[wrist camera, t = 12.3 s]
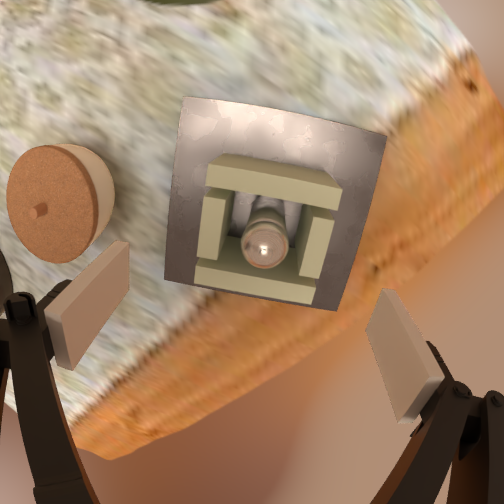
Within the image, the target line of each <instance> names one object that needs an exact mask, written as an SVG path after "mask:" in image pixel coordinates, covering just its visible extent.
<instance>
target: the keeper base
mask: <svg viewBox="0 0 504 504" xmlns="http://www.w3.org/2000/svg"><path fill="white" fill-rule="evenodd" d="M386 140H387V136H384V135H381V134H378V133H374V132H371V131H367V130H364V129H360V128H356V127H353V126H349V125H345V124H341V123H337V122H333V121H329V120H325V119H321V118H316V117H312V116H307V115H303V114H298V113H293V112H288V111H283V110H278V109H272V108H267V107H261V106H255V105H249V104H242V103H236V102H229V101H221V100H213V99H205V98H196V97H186V96H183V102H182V108H181V115H180V122H179V129H178V136H177V143H176V151H175V159H174V167H173V176H172V185H171V195H170V205H169V216H168V228H167V241H166V256H165V273H164V280H168V281H173V282H178V283H183V284H188V285H192V286H197V287H202V288H207V289H212V290H218V291H223V292H228V293H233V294H238V295H244V296H249V297H254V298H260V299H265V300H271V301H277V302H282V303H288V304H294V305H300V306H306V307H312V308H318V309H324V310H330V311H337V309H338V306H339V304H340V301H341V298H342V295H343V292H344V289H345V286H346V283H347V280H348V277H349V274H350V271H351V268H352V265H353V262H354V259H355V255H356V252H357V249H358V246H359V242H360V239H361V236H362V232H363V229H364V226H365V222H366V219H367V215H368V212H369V208H370V204H371V201H372V197H373V193H374V189H375V185H376V182H377V178H378V174H379V170H380V165H381V161H382V157H383V153H384V148H385V144H386ZM224 153H229V154H235V155H241V156H247V157H253V158H258V159H264V160H269V161H274V162H280V163H285V164H290V165H295V166H300V167H305V168H309V169H314V170H318V171H323V172H327V173H328V174H329V175H330V176H331V177H332V178H333V179H334V180H335V182H336V183H337V184H338V185H339V186H340V187H341V188H342V189H343V190H342V194H341V198H340V202H339V206H338V210H337V211H336V210H332V209H328V210H329V211H330V213H331V215H332V217H333V219H334V221H335V222H334V226H333V230H332V233H331V237H330V241H329V244H328V248H327V252H326V255H325V259H324V262H323V266H322V269H321V273H320V276H319V279H316V278H314V280H315V285H316V290H315V293H314V297H313V300H312V303H311V305H310V304H304V303H298V302H293V301H287V300H281V299H275V298H270V297H264V296H258V295H253V294H248V293H242V292H237V291H231V290H226V289H221V288H216V287H211V286H206V285H200V284H195V283H194V277H195V267H196V264H197V262H198V260H199V258H200V257H197V249H198V240H199V231H200V223H201V214H202V206H203V199H204V196H205V194H206V193H207V192H208V191H209V190H210V189H211V188H212V187H210V186H205V184H206V176H207V169H208V164H209V163H210V162H212V161H213V160H215V159H216V158H218V157H219V156H221V155H222V154H224ZM302 205H303V203H298V202H293V201H288V200H283V199H278V198H272V197H267V196H262V195H256V194H251V193H245V192H240V191H236V193H235V199H234V205H233V211H232V218H231V224H230V229H229V232H228V234H227V236H232V237H237V238H241V251H242V254H243V256H244V258H245V259H246V260H247V262H248V263H250V264H251V265H253V266H254V267H257V268H261V269H269V268H273V267H275V266H277V265H279V264H280V263H281V262H282V261H283V260H284V259H285V257H286V255H287V253H288V250H289V247H291V248H295V241H294V240H295V235H296V231H297V227H298V222H299V218H300V214H301V209H302Z"/></svg>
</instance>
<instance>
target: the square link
mask: <svg viewBox="0 0 504 504" xmlns="http://www.w3.org/2000/svg"><path fill="white" fill-rule="evenodd" d="M205 186H210V187H212V188H211V189H210V190H209V191H208V192H207V193H206V194H205V196H204V199H203V206H202V214H201V223H200V231H199V240H198V249H197V257H200V258H199V260H198V262H197V264H196V267H195V277H194V283H195V284H200V285H206V286H211V287H216V288H221V289H226V290H231V291H237V292H242V293H248V294H253V295H258V296H264V297H270V298H275V299H281V300H287V301H293V302H298V303H304V304H310V305H311V303H312V300H313V297H314V293H315V290H316V285H315V280H314V278H316V279H319V276H320V273H321V269H322V266H323V262H324V259H325V255H326V252H327V248H328V244H329V241H330V237H331V233H332V230H333V226H334V222H335V221H334V219H333V217H332V215H331V213H330V211H329V210H328V209H332V210H336V211H337V210H338V206H339V202H340V198H341V194H342V190H343V189H342V188H341V187H340V186H339V185H338V184H337V183H336V182H335V180H334V179H333V178H332V177H331V176H330V175H329V174H328V173H327V172H323V171H318V170H314V169H309V168H305V167H300V166H295V165H290V164H285V163H280V162H274V161H269V160H264V159H258V158H253V157H247V156H241V155H235V154H229V153H224V154H222V155H221V156H219V157H218V158H216V159H215V160H213V161H212V162H210V163H209V164H208V169H207V176H206V184H205ZM236 191H240V192H245V193H251V194H256V195H262V196H267V197H272V198H278V199H283V200H288V201H293V202H298V203H303V205H302V209H301V214H300V218H299V222H298V227H297V231H296V235H295V240H294V241H295V248H291V247H289V250H288V253H287V255H286V257H285V259H284V260H283V261H282V262H281V263H280V264H279V265H277V266H275V267H273V268H269V269H261V268H257V267H254V266H253V265H251V264H250V263H248V262H247V260H246V259H245V258H244V256H243V254H242V251H241V238H237V237H232V236H227V234H228V232H229V229H230V224H231V218H232V211H233V205H234V199H235V193H236Z"/></svg>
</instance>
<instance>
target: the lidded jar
mask: <svg viewBox="0 0 504 504" xmlns="http://www.w3.org/2000/svg"><path fill="white" fill-rule="evenodd" d="M6 199H7V209H8V214H9V218H10V221H11V224H12V226H13V228H14V231H15V233H16V234H17V236H18V238H19V239H20V241H21V242H22V243H23V245H24V246H25V247H26V248H27V249H28V250H29V251H30V252H31V253H33V254H34V255H35V256H37V257H38V258H40V259H42V260H45V261H47V262H51V263H66V262H69V261H72V260H74V259H75V258H77V257H78V256H80V255H81V254H82V253H83V252H84V251H85V250H86V249H87V248H88V247H89V246H90V245H91V244H92V243H93V242H94V241H95V240H96V239H97V238H98V237H99V235H100V234H101V233H102V232H103V230H104V229H105V227H106V225H107V224H108V222H109V220H110V218H111V215H112V211H113V208H114V202H115V190H114V183H113V180H112V176H111V174H110V171H109V169H108V168H107V166H106V164H105V163H104V162H103V161H102V159H101V158H100V157H99V156H98V155H96V154H95V153H94V152H92V151H91V150H89V149H87V148H85V147H82V146H78V145H73V144H55V145H44V146H39V147H35V148H32V149H30V150H28V151H27V152H25V153H24V154H23V155H22V156H21V157H20V158H19V159H18V160H17V162H16V163H15V165H14V167H13V169H12V171H11V173H10V176H9V180H8V184H7V198H6Z"/></svg>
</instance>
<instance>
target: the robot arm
mask: <svg viewBox="0 0 504 504" xmlns="http://www.w3.org/2000/svg"><path fill="white" fill-rule="evenodd" d="M128 290H129V243H128V242H123V241H117V240H116V241H115V242H113V243H112V244H111V245H110V246H109V247H108V248H107V249H106V250H105V251H104V252H103V253H101V254H100V255H99V256H98V257H97V258H96V259H95V260H94V261H93V262H92V263H91V264H90V265H89V266H88V267H87V268H85V269H84V270H83V271H82V272H81V273H80V274H79V275H78V276H77V277H76V278H75V279H74V280H73V281H72V280H68V279H67V280H64V281H62V282H60V283H58V284H57V285H56V286H55V287H54V288H53V289H52V290H51V291H50V292H49V293H48V294H47V295H46V296H44V297H43V298H42V299H41V300H40V301H39V302H38V303H37V304H36V303H35V299H34V297H33V295H32V294H30V293H27V292H17V293H13V292H12V282H11V277H10V274H9V270H8V267H7V265H6V262H5V260H4V258H3V255H2V253H1V252H0V315H1V314H2V313H4V312H5V313H6V317H7V319H0V432H1V422H2V413H3V405H4V398H5V391H6V385H7V379H8V373H9V369H11V371H12V380H13V387H14V394H15V401H16V407H17V413H18V418H19V423H20V428H21V433H22V437H23V442H24V446H25V450H26V454H27V458H28V462H29V465H30V469H31V472H32V476H33V479H34V483H35V487H34V488H33V494H34V497H35V501H36V504H100V502H99V500H98V498H97V496H96V494H95V492H94V490H93V487H92V485H91V483H90V481H89V478H88V476H87V474H86V472H85V469H84V467H83V464H82V462H81V459H80V457H79V454H78V452H77V449H76V446H75V444H74V441H73V438H72V435H71V432H70V430H69V427H68V424H67V421H66V418H65V414H64V411H63V408H62V405H61V401H60V398H59V395H58V391H57V387H56V384H55V380H54V376H53V372H52V368H51V364H50V360H51V359H52V358H53V356H55V359H56V363H57V366H60V367H63V368H65V369H68V370H71V371H73V370H74V368H75V367H76V365H77V364H78V362H79V361H80V359H81V358H82V356H83V355H84V353H85V352H86V350H87V349H88V347H89V346H90V344H91V343H92V341H93V340H94V338H95V337H96V336H97V334H98V333H99V331H100V330H101V328H102V327H103V325H104V324H105V323H106V321H107V320H108V318H109V317H110V315H111V314H112V313H113V311H114V310H115V308H116V307H117V306H118V304H119V303H120V301H121V300H122V299H123V297H124V296H125V295H126V293H127V292H128ZM365 331H366V333H367V336H368V339H369V342H370V344H371V347H372V350H373V352H374V355H375V358H376V361H377V363H378V366H379V369H380V372H381V375H382V377H383V380H384V383H385V386H386V389H387V392H388V395H389V398H390V401H391V404H392V407H393V410H394V413H395V416H396V419H397V423H413V421H414V420H415V419H416V418H417V416H418V415H419V414H420V416H421V418H422V421H421V422H420V424H419V425H418V426H417V427H416V429H415V430H414V431H413V432H412V434H411V435H410V437H412V438H411V440H410V441H409V443H408V445H407V447H406V448H405V450H404V452H403V454H402V455H401V457H400V459H399V460H398V462H397V464H396V465H395V467H394V469H393V470H392V472H391V473H390V475H389V476H388V478H387V480H386V481H385V482H384V484H383V486H382V487H381V488H380V490H379V491H378V493H377V494H376V496H375V497H374V499H373V500H372V501H371V503H370V504H434V502H435V499H436V497H437V495H438V493H439V491H440V489H441V486H442V484H443V482H444V479H445V477H446V475H447V472H448V470H449V467H450V465H451V462H452V468H451V476H450V484H449V491H448V497H447V503H446V504H504V396H503V395H502V394H501V393H499V392H497V391H493V390H491V391H488V392H487V394H486V395H485V397H484V398H480V397H476V396H472V392H471V390H470V389H469V388H468V387H467V386H466V385H465V384H463V383H461V382H459V381H454V379H453V377H452V375H451V373H450V372H449V370H448V368H447V366H446V365H445V363H444V361H443V359H442V357H440V354H439V352H438V350H437V349H436V347H435V346H433V345H432V344H431V343H430V342H429V341H425V339H424V338H423V336H422V334H421V332H420V331H419V329H418V327H417V326H416V324H415V322H414V321H413V319H412V317H411V316H410V314H409V312H408V310H407V309H406V307H405V305H404V304H403V302H402V301H401V299H400V298H399V296H398V294H397V292H396V291H395V290H391V289H385V288H382V291H381V293H380V296H379V298H378V301H377V304H376V306H375V309H374V311H373V313H372V316H371V318H370V321H369V323H368V326H367V328H366V330H365Z"/></svg>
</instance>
